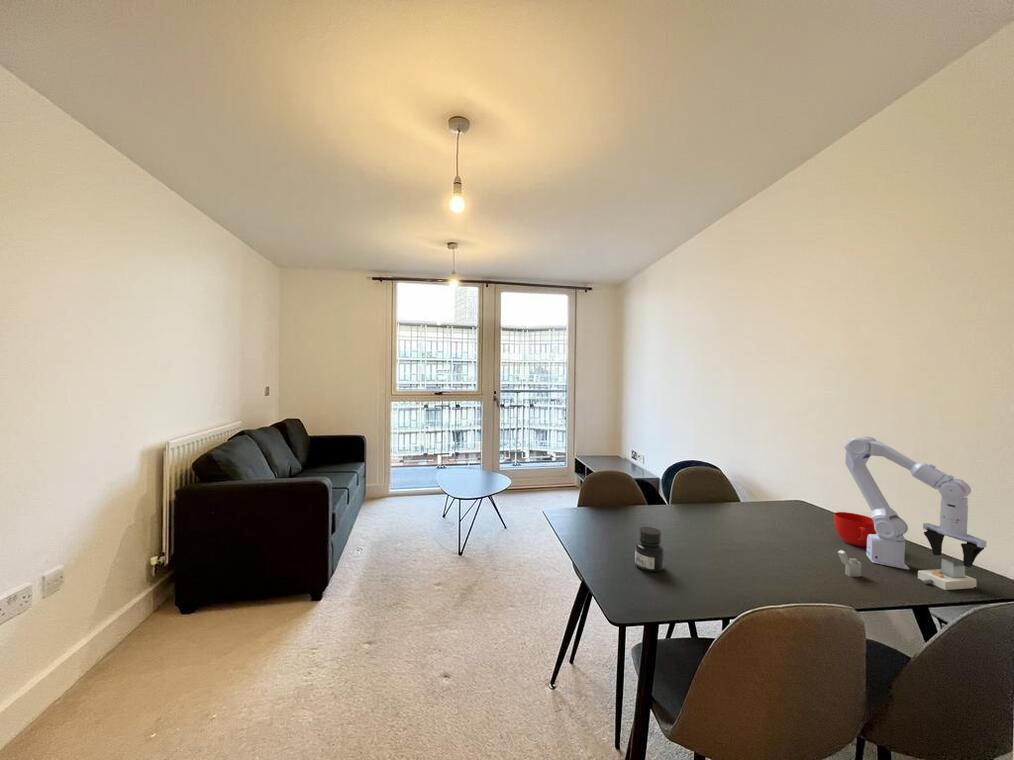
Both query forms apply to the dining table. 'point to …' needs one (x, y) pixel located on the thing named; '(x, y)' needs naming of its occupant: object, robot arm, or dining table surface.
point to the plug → (953, 568)
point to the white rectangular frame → (945, 580)
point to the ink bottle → (649, 550)
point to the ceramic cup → (853, 527)
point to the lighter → (850, 564)
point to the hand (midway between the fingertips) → (951, 560)
